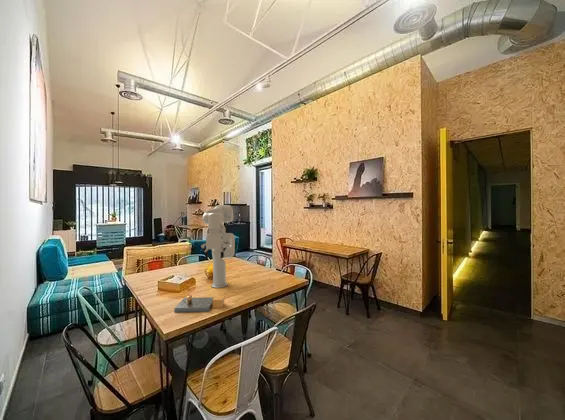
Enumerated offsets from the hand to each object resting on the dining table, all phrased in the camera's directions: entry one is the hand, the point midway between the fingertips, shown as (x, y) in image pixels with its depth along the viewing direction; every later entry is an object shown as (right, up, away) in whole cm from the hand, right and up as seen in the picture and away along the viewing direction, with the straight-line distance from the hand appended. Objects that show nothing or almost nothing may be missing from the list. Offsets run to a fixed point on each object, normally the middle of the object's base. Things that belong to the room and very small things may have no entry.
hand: (214, 258), depth 157 cm
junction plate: (-9, -29, -8) cm, 31 cm away
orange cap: (+5, -29, -7) cm, 30 cm away
